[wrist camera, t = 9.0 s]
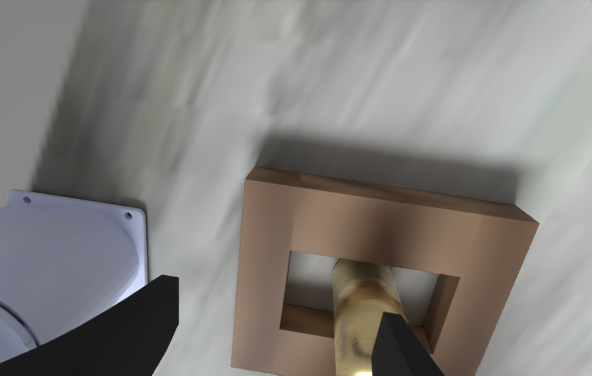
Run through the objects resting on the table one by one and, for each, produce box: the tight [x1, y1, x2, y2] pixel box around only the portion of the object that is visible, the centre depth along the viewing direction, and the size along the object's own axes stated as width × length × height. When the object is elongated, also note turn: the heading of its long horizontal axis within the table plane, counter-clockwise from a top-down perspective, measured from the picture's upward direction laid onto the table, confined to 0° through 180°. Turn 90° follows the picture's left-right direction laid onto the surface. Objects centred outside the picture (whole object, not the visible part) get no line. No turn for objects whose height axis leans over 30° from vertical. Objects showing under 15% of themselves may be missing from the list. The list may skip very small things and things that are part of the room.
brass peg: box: [332, 258, 409, 376], centre depth 19 cm, size 4×4×8 cm
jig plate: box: [231, 167, 540, 376], centre depth 22 cm, size 16×14×2 cm
